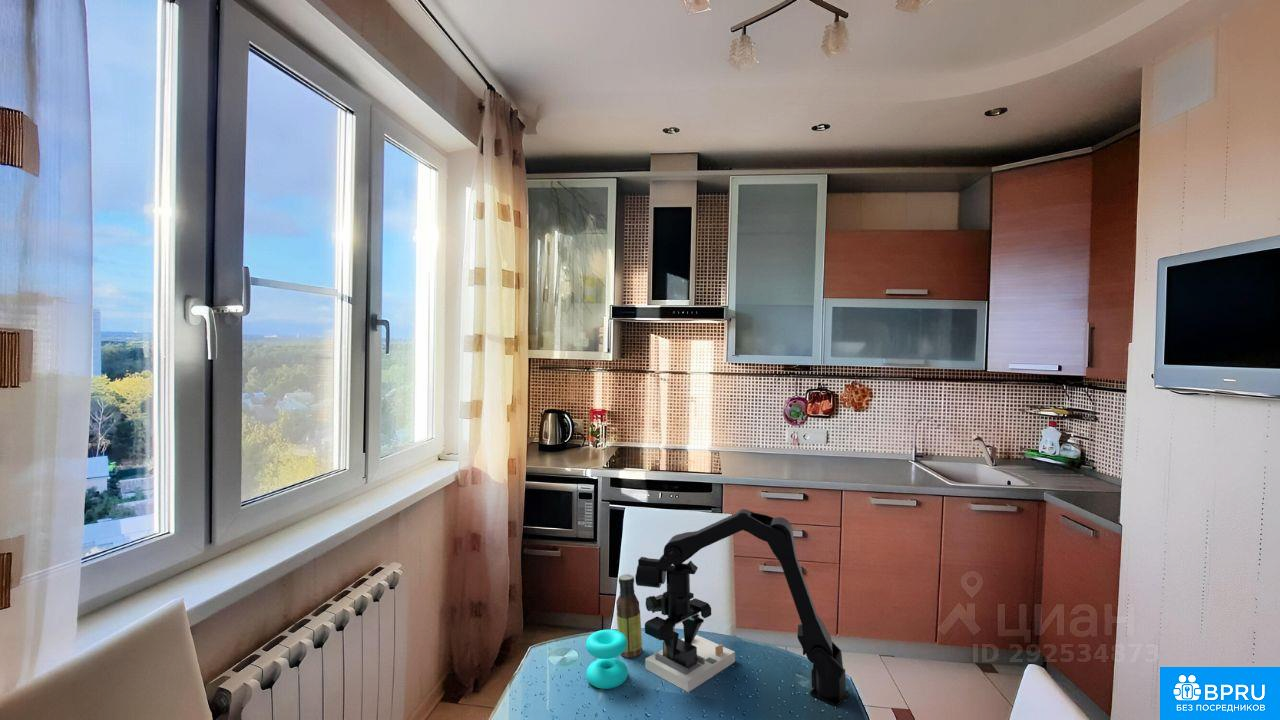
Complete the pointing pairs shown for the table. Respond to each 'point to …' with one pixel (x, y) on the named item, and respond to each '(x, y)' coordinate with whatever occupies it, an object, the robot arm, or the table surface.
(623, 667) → the donuts
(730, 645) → the table surface
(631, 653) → the sauce bottle
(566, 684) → the table surface
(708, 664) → the cradle
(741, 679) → the table surface
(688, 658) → the battery
